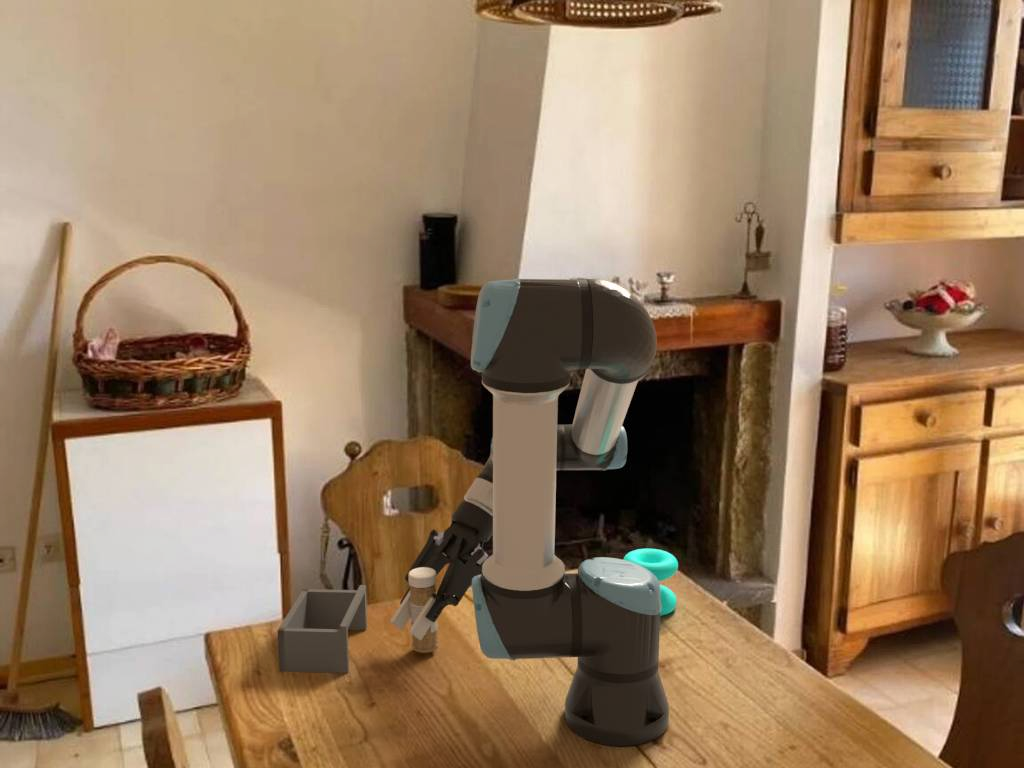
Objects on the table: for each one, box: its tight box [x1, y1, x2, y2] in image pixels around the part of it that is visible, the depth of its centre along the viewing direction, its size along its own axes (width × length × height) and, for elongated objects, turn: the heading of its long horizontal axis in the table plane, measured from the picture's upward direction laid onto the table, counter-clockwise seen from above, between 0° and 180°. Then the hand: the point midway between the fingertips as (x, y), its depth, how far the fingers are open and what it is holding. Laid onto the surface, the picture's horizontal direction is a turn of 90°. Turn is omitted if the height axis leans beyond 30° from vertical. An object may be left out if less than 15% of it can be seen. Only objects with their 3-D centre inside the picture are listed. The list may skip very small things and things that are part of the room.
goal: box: [276, 584, 368, 674], centre depth 164 cm, size 16×11×8 cm
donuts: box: [622, 547, 679, 617], centre depth 179 cm, size 10×10×10 cm
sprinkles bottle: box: [408, 567, 440, 654], centre depth 162 cm, size 5×5×14 cm
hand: (405, 630), depth 160 cm, fingers closed on sprinkles bottle, 4 cm apart
